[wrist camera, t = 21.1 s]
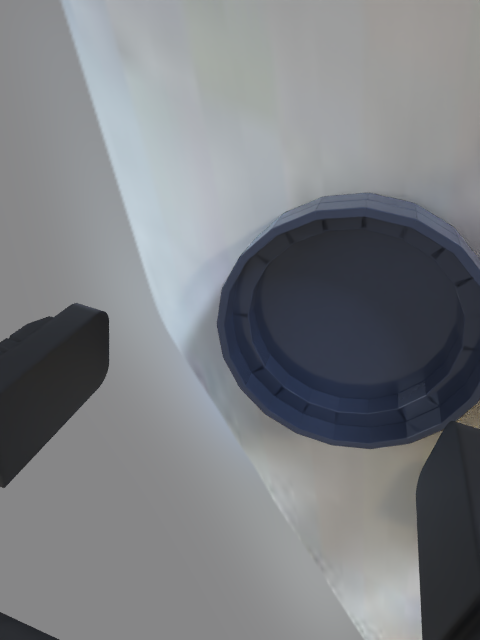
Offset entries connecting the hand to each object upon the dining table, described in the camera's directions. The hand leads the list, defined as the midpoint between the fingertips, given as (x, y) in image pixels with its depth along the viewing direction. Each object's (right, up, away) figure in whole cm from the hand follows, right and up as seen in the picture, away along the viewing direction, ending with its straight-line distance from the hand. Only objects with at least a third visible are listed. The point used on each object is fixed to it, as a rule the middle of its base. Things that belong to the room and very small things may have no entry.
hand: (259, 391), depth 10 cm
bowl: (+8, +2, +25) cm, 26 cm away
